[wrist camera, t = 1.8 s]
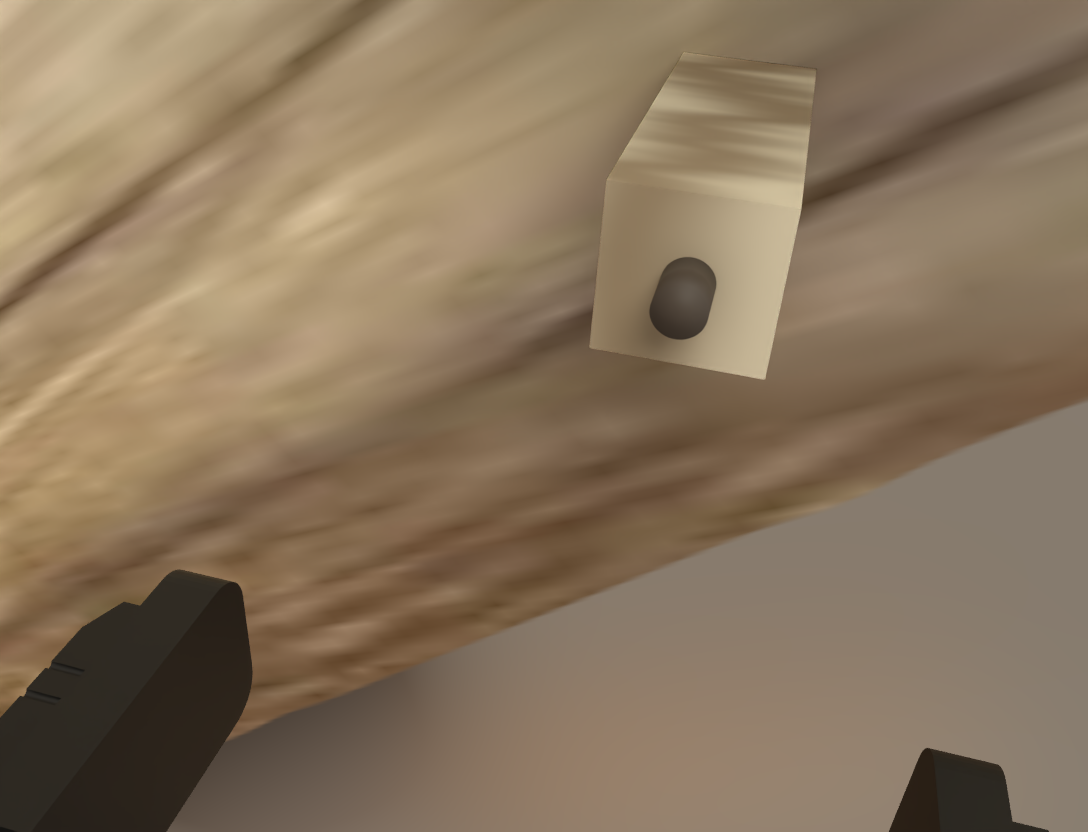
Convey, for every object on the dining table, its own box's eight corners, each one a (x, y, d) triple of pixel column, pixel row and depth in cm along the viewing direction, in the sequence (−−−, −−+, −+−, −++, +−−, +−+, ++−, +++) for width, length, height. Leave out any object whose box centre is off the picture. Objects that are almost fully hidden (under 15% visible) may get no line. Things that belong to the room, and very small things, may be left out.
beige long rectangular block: (816, 68, 30) (798, 236, 19) (789, 197, 32) (759, 414, 21) (683, 52, 31) (591, 204, 20) (666, 178, 33) (574, 380, 22)
